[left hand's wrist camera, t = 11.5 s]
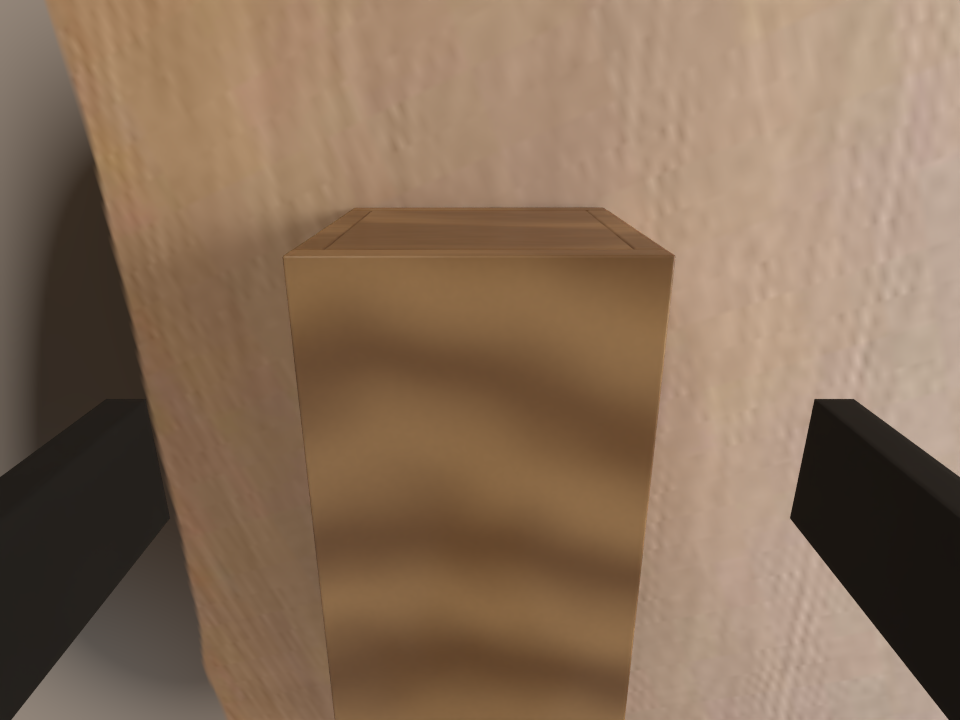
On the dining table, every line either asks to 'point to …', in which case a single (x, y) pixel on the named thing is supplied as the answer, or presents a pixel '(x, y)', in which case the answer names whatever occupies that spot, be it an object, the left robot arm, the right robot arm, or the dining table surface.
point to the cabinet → (479, 454)
